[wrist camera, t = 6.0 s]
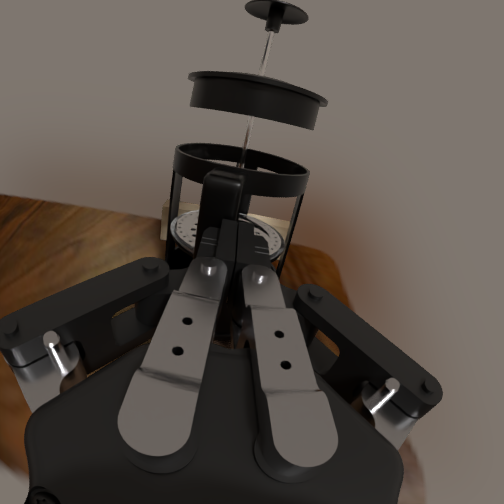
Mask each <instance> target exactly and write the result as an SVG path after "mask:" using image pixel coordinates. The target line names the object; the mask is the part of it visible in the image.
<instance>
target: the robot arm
mask: <svg viewBox="0 0 504 504" xmlns="http://www.w3.org/2000/svg"><path fill="white" fill-rule="evenodd" d="M237 223H238V226H237ZM227 297H228V298H227ZM226 301H227V308H228V309H232V317H231V321H230V334H231V349H227V348H224V347H221V346H219V345H216V344H213V339H214V335H215V330H216V325H217V321H218V317H219V316H220V313H221V308H225V306H226ZM132 304H135V307H134V308H132V309H130V310H128V311H126V312H124V313H122V314H120V315H118V316H116V317H114V318H112V317H113V315H114V314H115V313H116V312H118V311H119V310H121V309H123V308H125V307H127V306H129V305H132ZM318 330H320V331H321V332H323V333H324V334H325V335H326V336H327V337H328V338H330V339H331V340H332V341H333V342H334V343H335V344H336V345H337V346H338V348H339V351H340V355H339V357H338V356H336V355H335V354H334V353H333V352H332V351H331V350H330V349H328V348H327V347H326V346H325V345H324V344H323V343H322V342H320V341H319V340H318V339H317V338H316V337H315V335H316V333H317V331H318ZM152 337H153V338H152ZM151 338H152V340H151V343H147V344H144V345H141V346H139V345H140V344H142V343H144V342H145V341H147V340H149V339H151ZM137 346H139V347H137ZM135 347H136V348H135ZM133 348H134V349H133ZM132 349H133V350H132ZM130 350H131V351H130ZM0 351H1V353H2V354H3V356H4V359H5V361H6V362H7V364H8V365H9V367H10V368H11V370H12V371H13V373H14V374H15V376H16V378H17V381H18V383H19V385H20V388H21V390H22V392H23V395H24V397H25V399H26V401H27V403H28V405H29V407H30V409H31V411H32V413H33V414H32V415H31V416H30V418H29V420H28V422H27V425H26V428H25V434H24V444H25V450H26V455H27V460H28V467H29V492H28V496H27V498H26V501H25V503H24V504H397V503H398V497H399V492H400V488H401V485H402V481H403V475H404V468H403V462H402V459H401V456H400V454H399V452H398V449H399V448H400V447H401V445H402V444H403V442H404V441H405V439H406V437H407V436H408V434H409V433H410V431H411V430H412V428H413V426H414V425H415V423H416V422H417V421H418V420H419V419H420V418H422V417H423V416H424V415H425V414H426V413H428V412H429V411H430V410H431V409H432V408H433V407H434V406H436V405H437V404H438V403H439V402H440V401H441V399H442V395H443V392H442V388H441V385H440V384H439V382H438V381H437V379H436V378H435V377H433V376H432V375H431V374H430V373H429V372H427V371H426V370H425V369H424V368H422V367H421V366H420V365H419V364H418V363H416V362H415V361H414V360H413V359H411V358H410V357H409V356H407V355H406V354H405V353H404V352H403V351H402V350H400V349H399V348H398V347H397V346H395V345H394V344H393V343H391V342H390V341H389V340H388V339H387V338H385V337H384V336H383V335H382V334H380V333H379V332H378V331H377V330H375V329H374V328H373V327H372V326H370V325H369V324H368V323H367V322H365V321H364V320H363V319H362V318H360V317H359V316H358V315H357V314H355V313H354V312H353V311H352V310H350V309H349V308H348V307H347V306H345V305H344V304H343V303H341V302H340V301H339V300H338V299H336V298H335V297H334V296H333V295H331V294H330V293H329V292H328V291H326V290H325V289H323V288H322V287H320V286H317V285H313V284H304V285H301V286H300V287H299V288H298V290H297V291H295V290H293V289H290V288H287V287H285V286H283V285H281V284H280V283H279V280H278V277H277V275H276V273H275V272H274V271H273V270H272V269H271V261H270V255H269V246H268V242H267V240H266V239H265V238H264V237H263V236H260V235H254V224H250V223H244V222H238V221H233V220H227V219H222V225H221V229H220V228H215V227H209V228H207V229H206V230H205V231H204V232H203V236H202V239H201V243H200V246H199V249H198V253H197V256H196V258H195V259H193V260H192V262H191V263H190V266H189V267H187V268H184V269H177V270H169V265H168V264H167V263H166V262H165V261H164V260H162V259H159V258H155V257H145V258H141V259H138V260H136V261H133V262H131V263H128V264H126V265H123V266H121V267H118V268H116V269H113V270H111V271H108V272H106V273H103V274H101V275H98V276H96V277H94V278H91V279H89V280H86V281H84V282H82V283H79V284H77V285H74V286H72V287H70V288H67V289H65V290H63V291H60V292H58V293H56V294H53V295H51V296H49V297H46V298H44V299H42V300H40V301H37V302H35V303H33V304H31V305H28V306H26V307H24V308H22V309H20V310H17V311H15V312H13V313H11V314H9V315H7V316H5V317H3V318H2V319H1V320H0ZM128 351H129V352H128ZM127 352H128V353H127ZM125 353H126V354H125ZM123 354H124V355H123ZM121 355H123V356H121ZM120 356H121V357H120ZM118 357H120V358H118ZM116 358H118V359H116ZM114 359H116V360H115V361H113V360H114ZM111 361H113V362H112V363H110V364H108V365H107V366H105V367H103V368H102V369H100V370H99V371H97V372H95V373H94V374H92V375H90V376H89V377H87V375H88V374H90V373H91V372H93V371H95V370H97V369H99V368H100V367H102V366H104V365H106V364H107V363H109V362H111Z"/></svg>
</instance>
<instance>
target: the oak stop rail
mask: <svg viewBox="0 0 504 504" xmlns="http://www.w3.org/2000/svg"><path fill="white" fill-rule="evenodd" d="M169 203H170V200H167V201H166V202H165V204H164V205H163V208H162V209H163V210H162V221H161V236H160V239H161V240H166V239H167V225H168V214H169ZM199 208H200V205H198V204H192V203H186V202H180V201H179V210H178V216H179V215H181V214H184V213H186V212H190V211H195V210H199ZM247 215H248V216H251V217H254V218H256V219H259V220H261V221H263V222H265V223H267V224H269V225H270V226H272V227H273V228H274V229H276V230H277V231H278V232H279V233H280V234H281V235H282V237H283V239H284V241H285V239H286V235H287V232H288V228H289V225H290V222H289V221H284V220H279V219H274V218H269V217H264V216H259V215H253V214H247ZM280 256H281V255H280ZM280 256H279V258H278V259H277V260H280Z"/></svg>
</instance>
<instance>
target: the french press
mask: <svg viewBox="0 0 504 504" xmlns="http://www.w3.org/2000/svg"><path fill="white" fill-rule="evenodd" d="M245 9H246V11H247V12H248V13H250V14H251V15H253V16H255V17H257V18H260V19H263V20H266V21H267V22H266V27H265V30H266V31H267V32H269V33H268V37H267V41H266V45H265V49H264V53H263V57H262V61H261V66H260V70H259V74H258V75H255V74H248V73H238V72H218V71H216V72H215V71H200V72H192V73H190V74H189V76H188V79H189V80H191V81H193V82H194V88H193V92H192V97H191V102H190V106H191V107H198V108H206V109H214V110H220V111H226V112H232V113H238V114H244V115H249V119H248V123H247V128H246V133H245V137H244V142H243V147H236V146H230V145H221V144H211V143H187V144H181V145H178V146H176V148H175V155H174V162H173V177H172V185H171V193H170V203H169V214H168V225H167V239H166V254H165V262H166V263H167V264H168V265H169V270H177V269H184V268H187V267H189V266H190V263H191V262H192V260H193V259H195V258H196V256H197V253H198V249H199V246H200V243H201V239H202V236H203V232H204V231H205V230H206V229H207V228H209V227H215V228H220V229H221V225H222V219H227V220H233V221H238V222H244V223H250V224H254V235H260V236H263V237H264V238H265V239H266V240H267V242H268V246H269V255H270V261H271V263H272V262H274V261H275V260H277V259H278V258H279V256H280V255H281V256H280V260H279V263H278V267H277V270H276V269H275V268H274V266H273V265H272V264H271V269H272V270H273V271H274V272H275V273H276V275H277V277H278V280H279V278H280V275H281V271H282V268H283V265H284V262H285V258H286V255H287V252H288V248H289V245H290V241H291V238H292V234H293V231H294V227H295V224H296V221H297V217H298V214H299V210H300V206H301V203H302V200H303V196H304V192H305V189H306V185H307V182H308V178H309V174H310V171H309V170H308V169H306V168H305V167H303V166H301V165H299V164H297V163H295V162H293V161H290V160H288V159H284V158H282V157H279V156H275V155H272V154H268V153H264V152H261V151H256V150H252V149H248V145H249V140H250V136H251V131H252V126H253V122H254V117H259V118H264V119H268V120H273V121H277V122H282V123H286V124H290V125H294V126H298V127H302V128H306V129H310V130H314V126H315V122H316V118H317V114H318V110H319V106H320V107H326V106H327V104H328V101H327V100H326V99H325V98H323V97H322V96H320V95H318V94H316V93H313V92H311V91H308V90H306V89H303V88H300V87H297V86H294V85H292V84H289V83H287V82H284V81H280V80H277V79H273V78H269V77H265V76H264V73H265V69H266V65H267V61H268V57H269V52H270V48H271V44H272V40H273V36H274V33H278V32H279V29H280V26H281V24H292V25H294V24H302V23H305V22H307V21H308V15H307V13H306V12H304V11H303V10H302V9H300V8H299V7H296V6H295V5H292V4H290V3H287V2H283V1H278V0H252V1H250V2H248V3H247V4H246V5H245ZM207 159H208V160H222V161H231V162H237V165H236V167H234V166H229V165H225V164H220V163H216V162H212V161H207ZM258 167H260V168H263V169H267V170H270V171H273V172H276V173H269V172H262V171H257V168H258ZM277 173H278V174H277ZM182 177H185V178H187V179H189V180H192V181H194V182H197V183H200V184H203V188H202V195H201V201H200V208H199V210H195V211H190V212H186V213H184V214H181V215H179V216H178V210H179V201H180V193H181V185H182ZM252 195H257V196H266V197H296V196H297V199H296V204H295V207H294V210H293V214H292V218H291V221H290V225H289V228H288V232H287V235H286V239H285V241H284V239H283V237H282V235H281V234H280V233H279V232H278V231H277V230H276V229H274V228H273V227H272V226H270V225H269V224H267V223H265V222H263V221H261V220H259V219H256V218H254V217H251V216H248V215H247V214H248V210H249V205H250V200H251V196H252ZM237 226H238V223H237ZM175 243H176V244H177V247H176V248H175ZM231 317H232V309H228V308H227V302H226V306H225V308H221V313H220V316H219V317H218V321H217V325H216V330H215V335H214V339H213V340H226V341H229V340H231V334H230V321H231Z"/></svg>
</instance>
